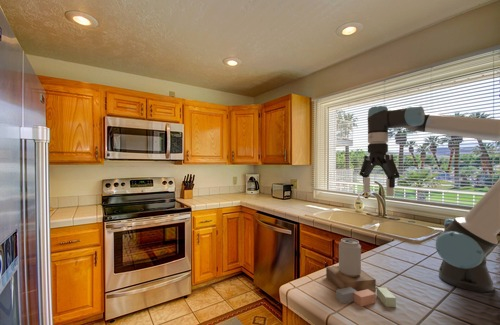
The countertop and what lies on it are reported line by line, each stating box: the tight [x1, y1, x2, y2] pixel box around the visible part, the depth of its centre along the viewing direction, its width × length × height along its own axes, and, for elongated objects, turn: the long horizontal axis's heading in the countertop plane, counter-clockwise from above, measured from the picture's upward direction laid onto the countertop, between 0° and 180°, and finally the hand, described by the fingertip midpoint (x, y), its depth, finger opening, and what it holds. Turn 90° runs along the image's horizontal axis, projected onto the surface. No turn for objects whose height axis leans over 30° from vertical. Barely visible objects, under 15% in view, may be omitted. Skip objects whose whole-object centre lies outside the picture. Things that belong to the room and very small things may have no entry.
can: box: [338, 237, 362, 277], centre depth 86 cm, size 8×8×12 cm
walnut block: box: [325, 265, 377, 292], centre depth 86 cm, size 12×12×4 cm
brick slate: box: [335, 287, 358, 305], centre depth 76 cm, size 6×3×3 cm, turn 109°
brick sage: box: [376, 286, 397, 308], centre depth 75 cm, size 6×3×3 cm, turn 176°
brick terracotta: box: [353, 289, 377, 307], centre depth 74 cm, size 6×3×3 cm, turn 111°
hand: (377, 193), depth 98 cm, fingers open, 13 cm apart
